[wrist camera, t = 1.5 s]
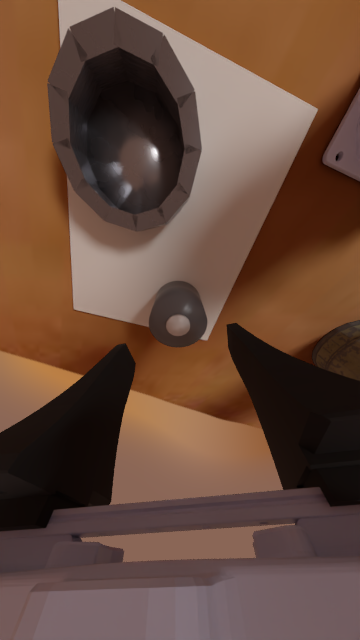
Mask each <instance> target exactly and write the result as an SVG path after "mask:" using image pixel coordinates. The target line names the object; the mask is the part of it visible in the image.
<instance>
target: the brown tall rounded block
mask: <svg viewBox="0 0 360 640" xmlns="http://www.w3.org/2000/svg"><path fill="white" fill-rule="evenodd" d="M312 360H313V362H314V364H315V365H316V366H317V367H319V368H322V369H325V370H327V371H330V372H333V373H336V374H339V375H342V376H345V377H349V378H352V379H355V380H359V381H360V320H359V321H355V322H350V323H347V324H344V325H342V326H340V327H338V328H335V329H334V330H332V331H331V332H330V333H328V334H327V335H325V336H324V337H323V338H322V339H321V340H320V341H319V342H318V343H317V345H316V347H315V348H314V350H313V354H312Z"/></svg>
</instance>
